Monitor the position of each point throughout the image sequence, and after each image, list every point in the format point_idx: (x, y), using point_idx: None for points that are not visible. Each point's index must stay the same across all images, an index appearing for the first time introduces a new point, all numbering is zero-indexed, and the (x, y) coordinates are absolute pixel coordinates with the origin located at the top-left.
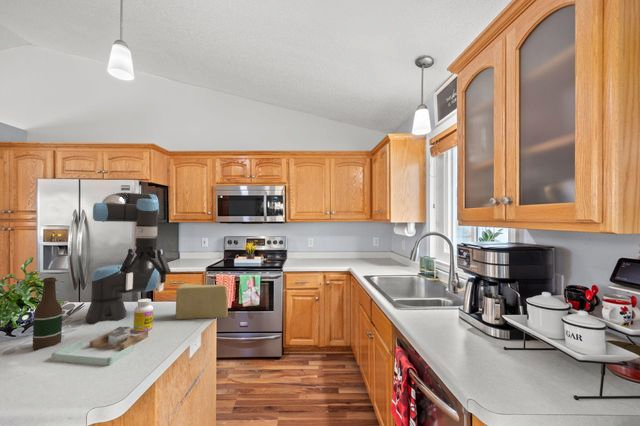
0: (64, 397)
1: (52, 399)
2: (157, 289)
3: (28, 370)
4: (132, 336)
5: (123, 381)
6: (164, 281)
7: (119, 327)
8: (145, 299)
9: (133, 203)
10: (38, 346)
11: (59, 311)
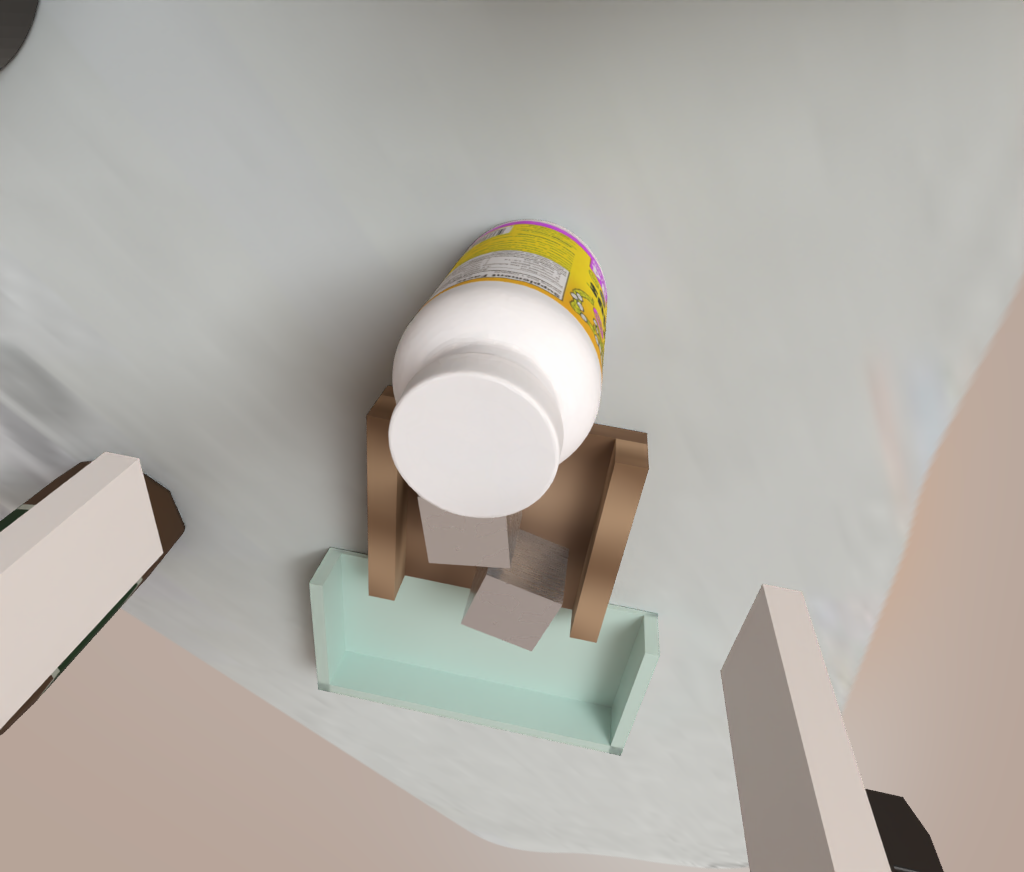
0: (588, 821)
1: (560, 823)
2: (727, 707)
3: (311, 687)
4: None
5: (734, 786)
6: (908, 850)
7: (431, 513)
8: (461, 413)
9: None
10: None
11: None
